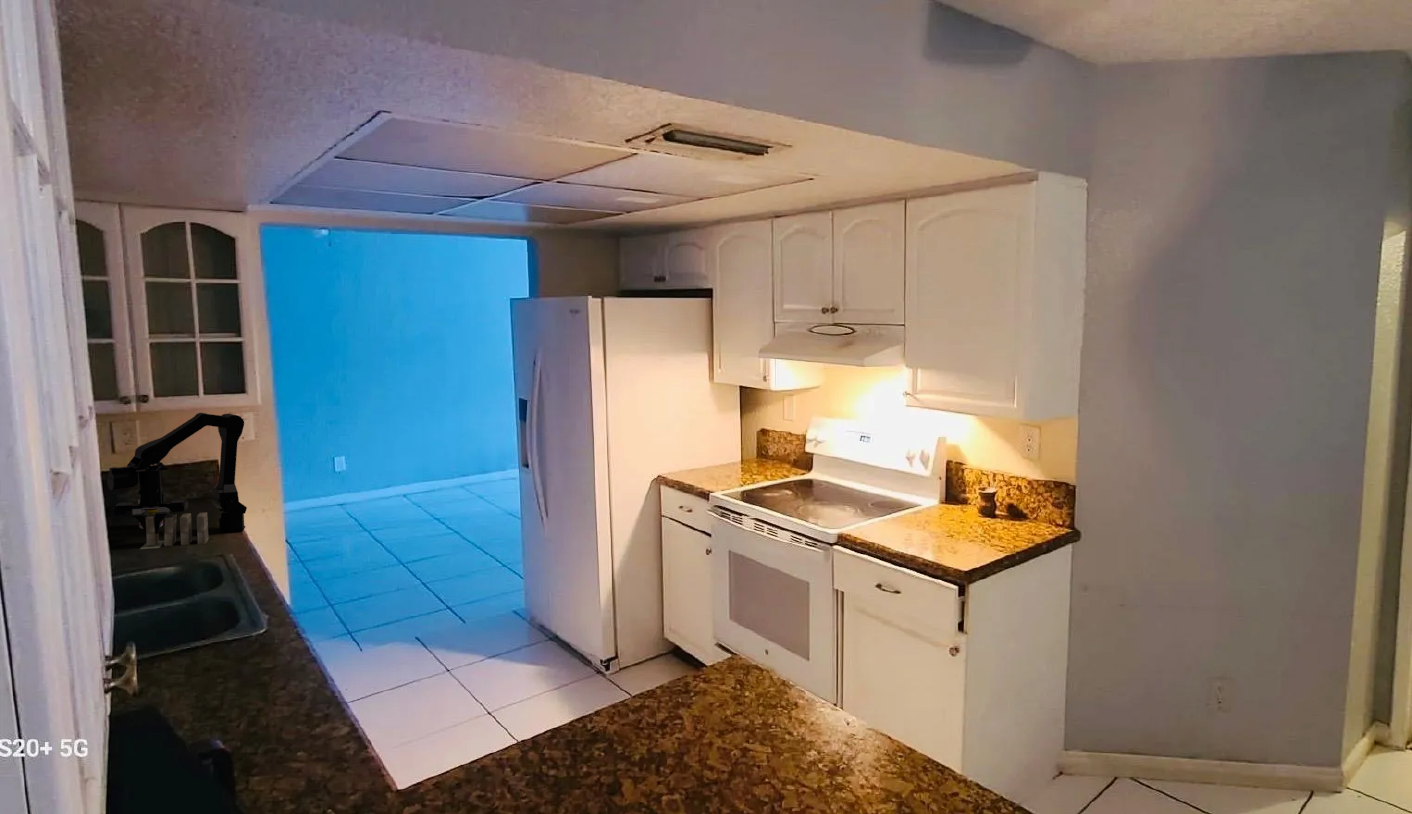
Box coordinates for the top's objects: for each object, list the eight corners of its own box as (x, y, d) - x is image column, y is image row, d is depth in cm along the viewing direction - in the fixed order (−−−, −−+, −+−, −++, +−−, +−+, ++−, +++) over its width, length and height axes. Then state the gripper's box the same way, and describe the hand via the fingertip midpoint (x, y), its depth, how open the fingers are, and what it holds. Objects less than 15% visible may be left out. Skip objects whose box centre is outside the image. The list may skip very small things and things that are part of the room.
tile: (158, 540, 249) (157, 513, 248) (154, 545, 245) (153, 517, 244) (151, 541, 249) (150, 513, 247) (147, 545, 244) (145, 517, 243)
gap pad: (165, 541, 251) (165, 540, 251) (159, 547, 244) (159, 547, 244) (147, 542, 249) (147, 541, 249) (139, 549, 242) (139, 548, 242)
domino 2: (192, 540, 253) (190, 513, 252) (188, 544, 248) (187, 517, 247) (184, 540, 252) (183, 513, 251) (181, 545, 247) (179, 517, 246)
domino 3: (208, 539, 254) (207, 512, 253) (205, 543, 250) (203, 516, 249) (201, 539, 254) (199, 512, 253) (197, 544, 249) (196, 516, 248)
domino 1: (175, 541, 251) (176, 514, 250) (171, 545, 246) (172, 517, 246) (168, 541, 250) (169, 514, 249) (164, 546, 246) (165, 517, 245)
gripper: (191, 478, 255) (193, 525, 257) (121, 481, 248) (124, 529, 250) (182, 485, 245) (185, 534, 247) (110, 489, 238) (113, 538, 240)
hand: (152, 533), depth 246 cm, fingers closed on tile, 2 cm apart
